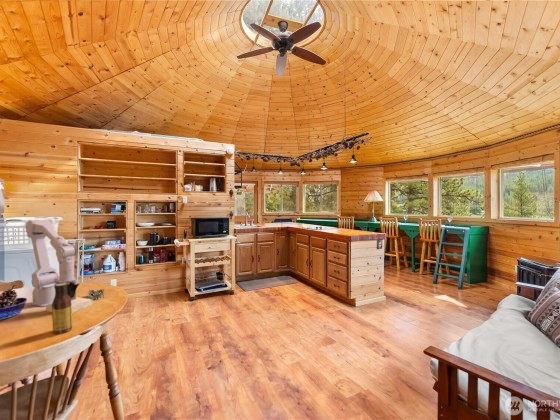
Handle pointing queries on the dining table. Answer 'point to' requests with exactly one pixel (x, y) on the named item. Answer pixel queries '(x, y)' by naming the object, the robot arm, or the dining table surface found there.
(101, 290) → the egg carton
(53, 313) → the sauce bottle
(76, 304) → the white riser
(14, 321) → the dining table surface
